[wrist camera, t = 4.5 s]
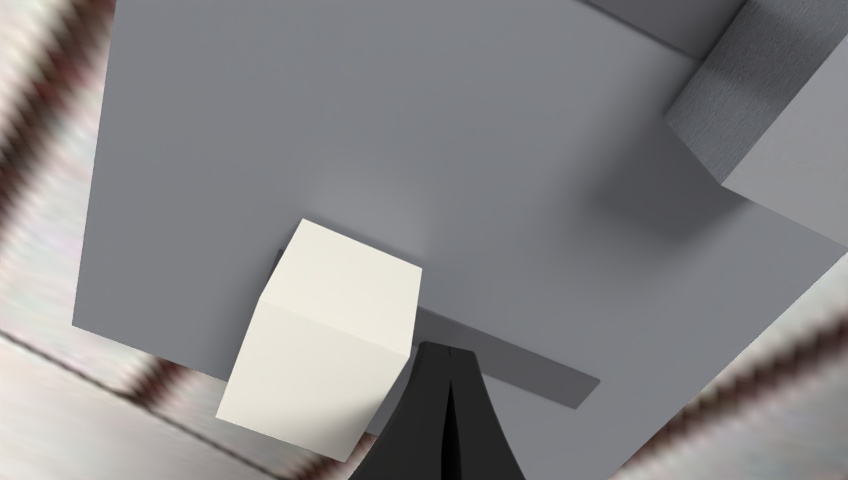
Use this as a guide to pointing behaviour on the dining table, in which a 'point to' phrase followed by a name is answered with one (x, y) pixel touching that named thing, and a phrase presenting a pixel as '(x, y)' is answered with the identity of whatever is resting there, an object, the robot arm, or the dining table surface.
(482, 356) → the control panel
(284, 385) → the cream slider
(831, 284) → the dining table surface
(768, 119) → the grey slider
